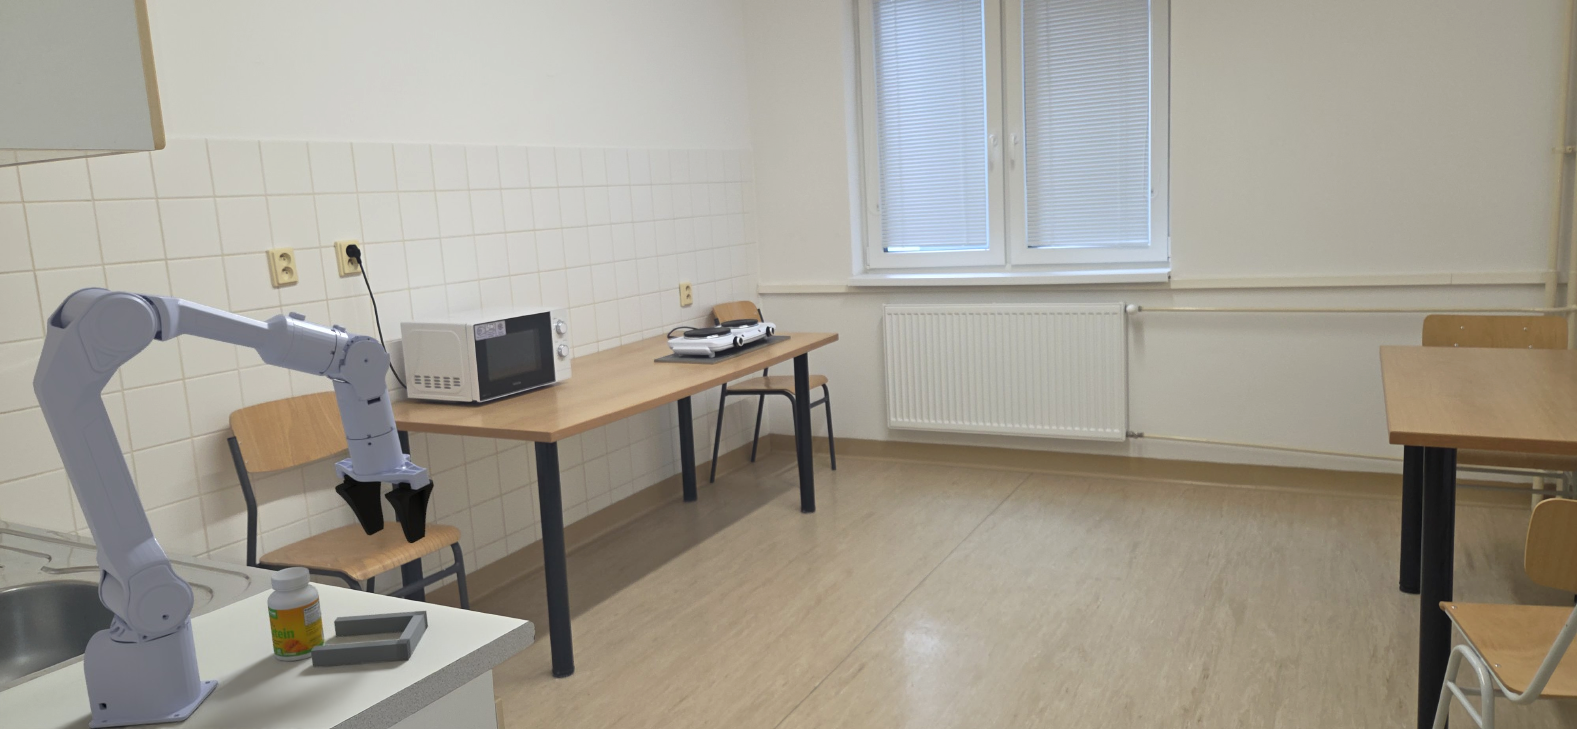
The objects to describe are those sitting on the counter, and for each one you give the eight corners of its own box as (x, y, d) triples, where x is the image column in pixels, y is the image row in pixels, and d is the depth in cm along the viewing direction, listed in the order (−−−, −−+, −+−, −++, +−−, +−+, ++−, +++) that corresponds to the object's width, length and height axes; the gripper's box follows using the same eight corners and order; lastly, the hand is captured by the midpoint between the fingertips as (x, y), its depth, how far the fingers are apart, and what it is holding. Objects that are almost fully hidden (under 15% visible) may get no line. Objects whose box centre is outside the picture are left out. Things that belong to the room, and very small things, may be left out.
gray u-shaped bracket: (313, 667, 116) (310, 650, 116) (339, 632, 125) (337, 617, 125) (408, 659, 117) (406, 643, 117) (427, 626, 126) (426, 610, 126)
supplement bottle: (263, 659, 119) (252, 580, 117) (298, 639, 124) (288, 562, 122) (302, 664, 117) (291, 583, 115) (335, 643, 122) (325, 566, 120)
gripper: (438, 424, 122) (461, 529, 126) (359, 416, 130) (383, 515, 133) (390, 445, 116) (416, 554, 120) (310, 436, 124) (336, 538, 127)
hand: (395, 535), depth 126 cm, fingers open, 7 cm apart
